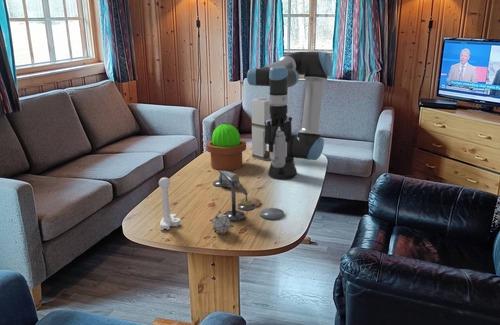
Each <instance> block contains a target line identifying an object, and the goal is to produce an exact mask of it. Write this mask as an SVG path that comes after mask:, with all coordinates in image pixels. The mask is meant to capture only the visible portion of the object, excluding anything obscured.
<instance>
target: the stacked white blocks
mask: <svg viewBox="0 0 500 325" xmlns="http://www.w3.org/2000/svg"><path fill="white" fill-rule="evenodd" d="M270 105H271V104H270V103H269V100H267V97H265V96H264V97H259V98H252V99H251V151H252V153H251V156H252V158H253V159H256V160H257V159H258V160H260V161H265V162H266V161H269V160H271V159H270V152H269V150H267V148H268V147H267V146H268V144H266V143H265V123H264V121H265V120H266V121H267V120H269V119H270V116H271V115H270ZM271 124H272V123H271ZM274 127H275V126H274Z"/></svg>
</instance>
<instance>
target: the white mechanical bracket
mask: <svg viewBox="0 0 500 325" xmlns="http://www.w3.org/2000/svg"><path fill="white" fill-rule="evenodd" d="M158 185H159V187H160V188H161V190H162V191H161V192H162V213H163V217H162V218H161V220H160V222H159V228H160V229H161V230H164V229H165V230H171V227H174V226H176V227H178V225H179V226H180V225H181V218H179V217H177V214H176V213H171V209H170V201H169V192H168V191H169V187H170V185H171V181H170V179H169V178H168V177H161V178H160V179H159V181H158ZM161 230H160V231H161Z"/></svg>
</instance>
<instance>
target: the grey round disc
mask: <svg viewBox="0 0 500 325" xmlns="http://www.w3.org/2000/svg"><path fill="white" fill-rule="evenodd" d="M260 217H261V218H263V219H264V220H269V221H270V220H271V221H275V220H276V221H277V220H281V219H282V218H283V217H285V212H284V210H283V209H280V208H276V207H268V208H263V209H262V210H261V211H260Z"/></svg>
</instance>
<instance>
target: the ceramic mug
mask: <svg viewBox="0 0 500 325" xmlns="http://www.w3.org/2000/svg"><path fill="white" fill-rule="evenodd" d="M222 171H223V172H224V173H225V174H227V175H228V176H229V177H230V178H231V179H236V180H237V184H238V185H240V183H241V181H240V177H239V175H238V174H236V173H233V172H231V171H229V170H222ZM218 180H220V175H219V176H218ZM222 180H227V181H229V180H228V179H227V178H226V177H224V176H223V175H222ZM225 188H230V189H231V185H229V186H226V187H225ZM235 188H237V187H236V186H235Z"/></svg>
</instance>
